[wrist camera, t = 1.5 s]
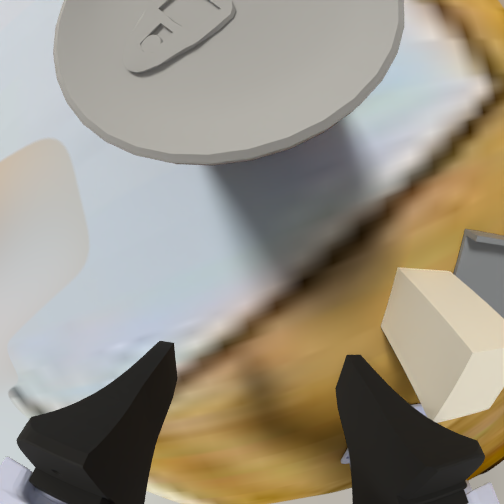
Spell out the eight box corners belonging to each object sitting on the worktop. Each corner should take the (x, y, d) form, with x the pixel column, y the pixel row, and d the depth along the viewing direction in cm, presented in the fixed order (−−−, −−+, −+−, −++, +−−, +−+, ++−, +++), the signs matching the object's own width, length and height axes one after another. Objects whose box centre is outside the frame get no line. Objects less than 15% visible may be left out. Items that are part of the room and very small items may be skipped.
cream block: (431, 325, 19) (489, 408, 11) (380, 326, 19) (430, 423, 11) (449, 271, 17) (528, 343, 9) (397, 267, 17) (472, 352, 9)
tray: (510, 346, 20) (518, 355, 18) (421, 358, 20) (428, 370, 19) (548, 245, 16) (558, 251, 15) (465, 228, 16) (477, 235, 15)
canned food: (152, 117, 15) (7, 99, 5) (222, 4, 12) (176, -124, 2) (271, 179, 16) (287, 246, 6) (343, 63, 13) (447, -28, 3)
